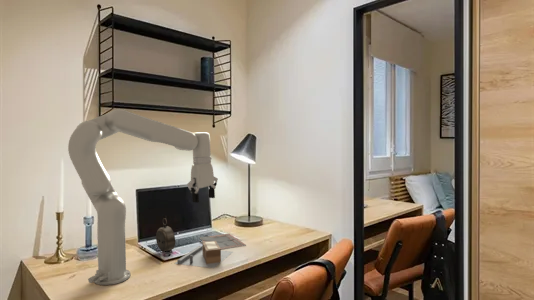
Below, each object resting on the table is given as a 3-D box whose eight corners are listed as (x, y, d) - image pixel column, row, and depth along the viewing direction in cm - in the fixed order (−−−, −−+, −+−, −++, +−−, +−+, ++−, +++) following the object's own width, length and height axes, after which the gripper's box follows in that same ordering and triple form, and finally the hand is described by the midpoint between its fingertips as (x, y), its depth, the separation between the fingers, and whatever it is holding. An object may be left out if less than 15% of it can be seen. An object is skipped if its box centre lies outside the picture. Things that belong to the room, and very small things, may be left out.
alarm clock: (176, 254, 153) (175, 219, 152) (165, 257, 149) (164, 221, 148) (164, 248, 160) (164, 215, 160) (153, 251, 157) (153, 217, 156)
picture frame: (199, 242, 173) (213, 255, 154) (199, 237, 173) (212, 249, 154) (229, 237, 181) (245, 249, 161) (229, 233, 180) (245, 244, 161)
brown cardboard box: (220, 262, 140) (220, 248, 140) (206, 263, 138) (206, 250, 138) (215, 252, 151) (215, 240, 151) (202, 254, 149) (202, 241, 149)
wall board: (214, 271, 133) (213, 260, 133) (174, 266, 138) (174, 256, 138) (233, 254, 152) (233, 245, 152) (197, 250, 158) (197, 241, 157)
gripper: (209, 158, 154) (211, 195, 155) (180, 162, 139) (182, 203, 140) (222, 159, 149) (223, 197, 150) (193, 163, 135) (195, 204, 136)
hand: (204, 200), depth 145 cm, fingers open, 9 cm apart
